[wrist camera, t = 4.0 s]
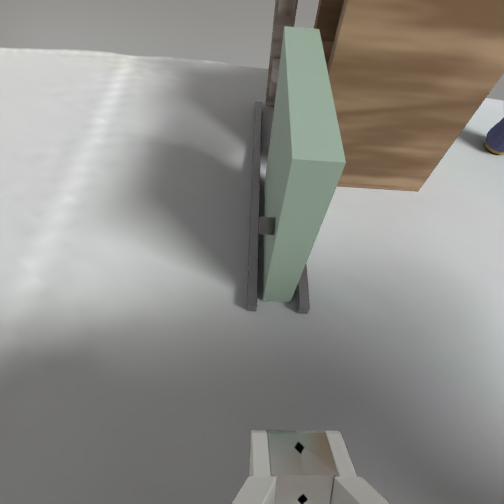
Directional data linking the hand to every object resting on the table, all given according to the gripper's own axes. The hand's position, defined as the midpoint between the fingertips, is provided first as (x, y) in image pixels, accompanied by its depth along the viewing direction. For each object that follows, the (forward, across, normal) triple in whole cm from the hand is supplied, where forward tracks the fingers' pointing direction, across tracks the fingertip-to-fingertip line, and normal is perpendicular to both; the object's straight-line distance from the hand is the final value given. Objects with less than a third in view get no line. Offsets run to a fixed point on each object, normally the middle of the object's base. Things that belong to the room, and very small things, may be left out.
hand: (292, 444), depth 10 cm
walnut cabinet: (+34, +10, +13) cm, 38 cm away
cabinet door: (+22, +2, +2) cm, 22 cm away
